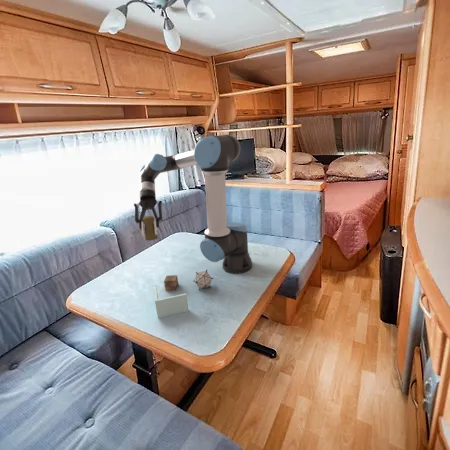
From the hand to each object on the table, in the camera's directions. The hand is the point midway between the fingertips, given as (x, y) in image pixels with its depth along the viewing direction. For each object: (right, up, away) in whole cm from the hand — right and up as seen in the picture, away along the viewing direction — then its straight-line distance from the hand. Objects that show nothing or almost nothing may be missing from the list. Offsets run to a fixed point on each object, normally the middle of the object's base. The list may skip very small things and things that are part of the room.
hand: (149, 234), depth 133 cm
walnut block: (+11, -24, -2) cm, 27 cm away
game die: (+26, -24, -4) cm, 35 cm away
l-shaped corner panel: (+13, -29, -16) cm, 36 cm away
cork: (0, -2, +5) cm, 5 cm away
